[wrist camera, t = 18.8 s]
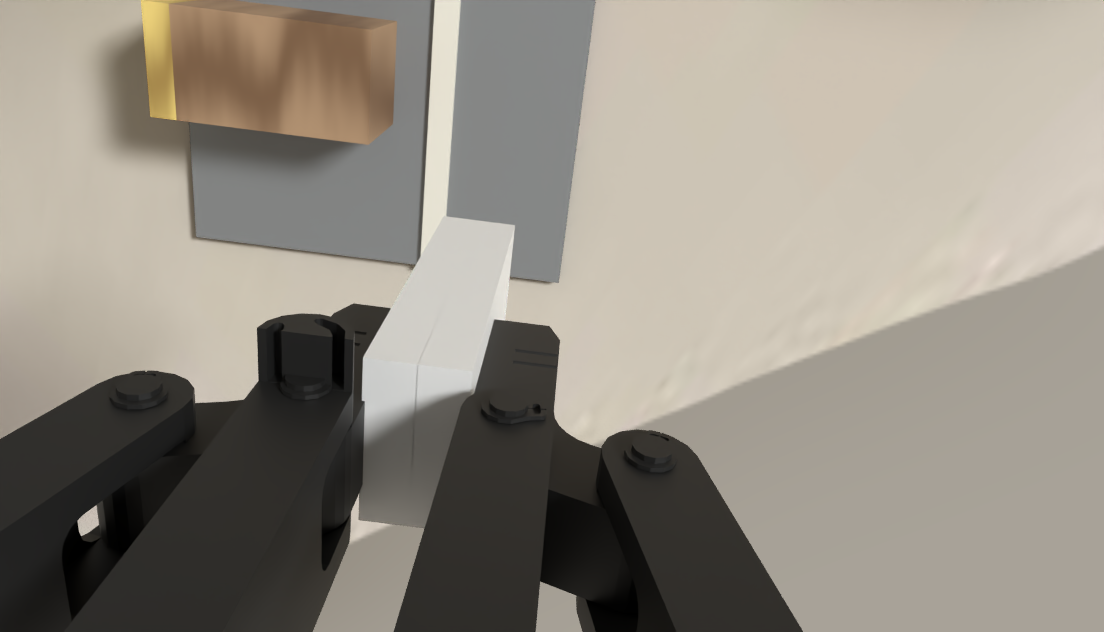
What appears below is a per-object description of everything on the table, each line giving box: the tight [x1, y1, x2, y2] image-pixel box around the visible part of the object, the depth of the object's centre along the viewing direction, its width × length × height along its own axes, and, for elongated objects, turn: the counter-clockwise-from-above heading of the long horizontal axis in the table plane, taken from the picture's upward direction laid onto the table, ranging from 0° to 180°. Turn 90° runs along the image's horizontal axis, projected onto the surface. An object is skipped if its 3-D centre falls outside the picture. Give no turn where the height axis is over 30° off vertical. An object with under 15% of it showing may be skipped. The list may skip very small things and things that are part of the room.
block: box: [141, 0, 397, 145], centre depth 39 cm, size 5×5×10 cm
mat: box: [189, 0, 595, 283], centre depth 41 cm, size 20×20×1 cm
